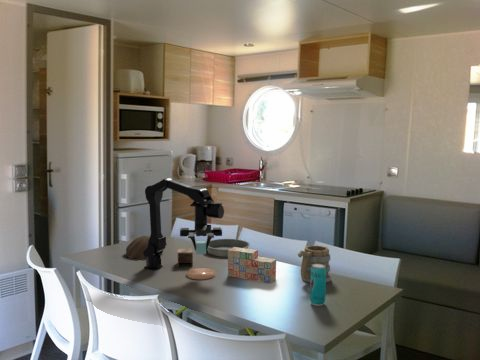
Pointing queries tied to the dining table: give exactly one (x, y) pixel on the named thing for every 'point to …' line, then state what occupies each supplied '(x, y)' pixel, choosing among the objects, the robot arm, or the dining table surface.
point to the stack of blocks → (250, 265)
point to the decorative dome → (137, 247)
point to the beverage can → (318, 284)
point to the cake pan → (220, 245)
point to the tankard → (314, 261)
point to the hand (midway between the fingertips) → (201, 250)
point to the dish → (201, 273)
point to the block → (200, 247)
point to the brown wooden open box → (185, 256)
